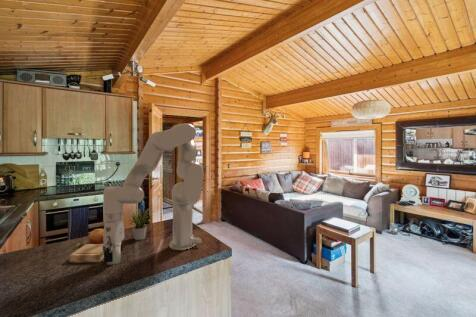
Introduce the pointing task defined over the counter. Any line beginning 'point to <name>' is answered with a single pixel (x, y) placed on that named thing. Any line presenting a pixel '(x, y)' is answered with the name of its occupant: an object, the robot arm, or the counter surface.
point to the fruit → (96, 236)
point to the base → (88, 253)
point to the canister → (116, 254)
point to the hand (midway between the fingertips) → (113, 256)
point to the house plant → (140, 225)
